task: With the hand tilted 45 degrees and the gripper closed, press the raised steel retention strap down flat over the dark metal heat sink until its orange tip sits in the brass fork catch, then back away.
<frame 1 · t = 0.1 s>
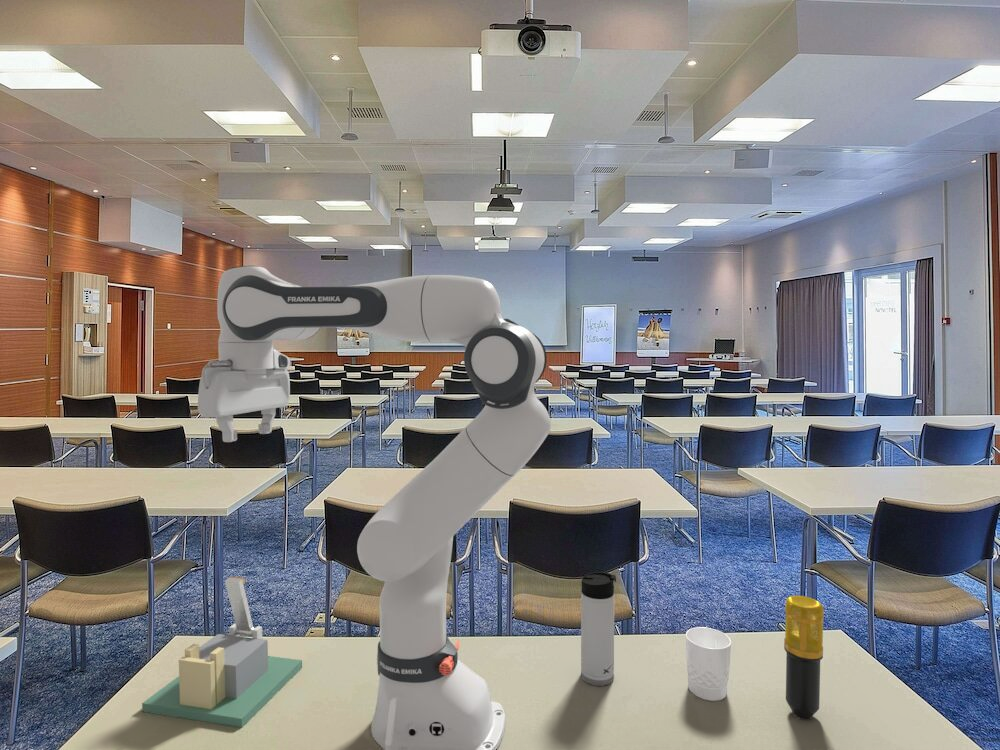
hand: (248, 437, 98), 48 cm above the table, tool pointing down, fingers open, 8 cm apart
travel mug: (598, 677, 107), on the table
retention strap: (240, 607, 107), point 14 cm above the table, hinge at 75.0°
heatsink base: (227, 688, 104), on the table
white cup: (707, 691, 103), on the table
microphone: (820, 713, 96), on the table
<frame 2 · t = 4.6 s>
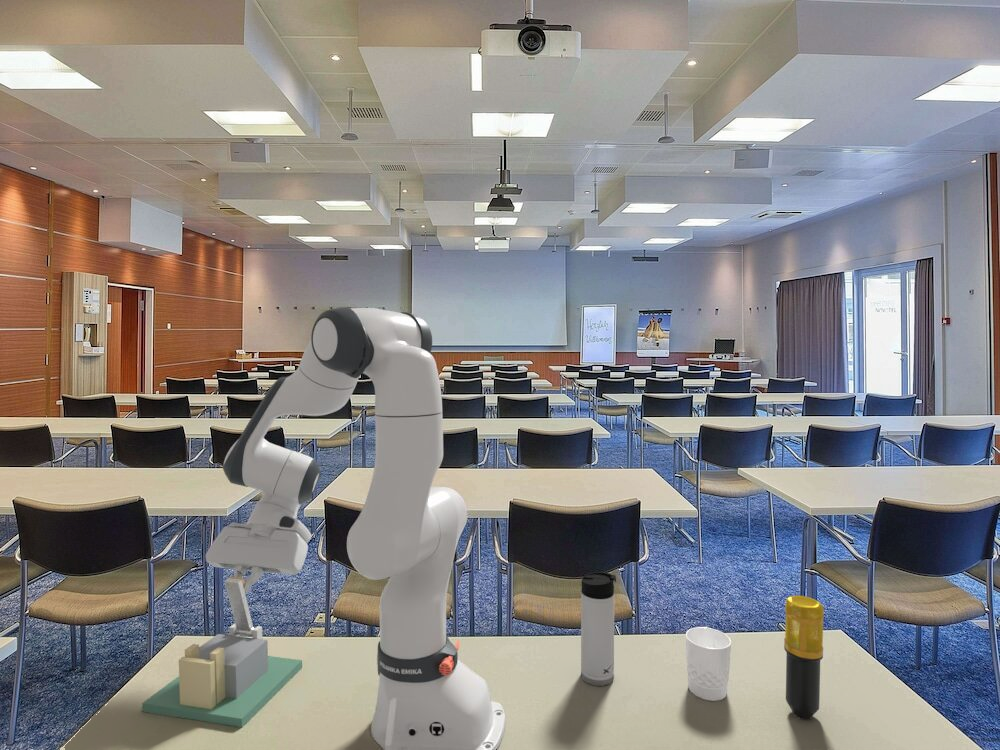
hand: (239, 591, 107), 17 cm above the table, tool tilted 45°, fingers closed, pressing on retention strap
retention strap: (240, 607, 107), point 14 cm above the table, hinge at 74.2°, touching gripper
everything else where it was.
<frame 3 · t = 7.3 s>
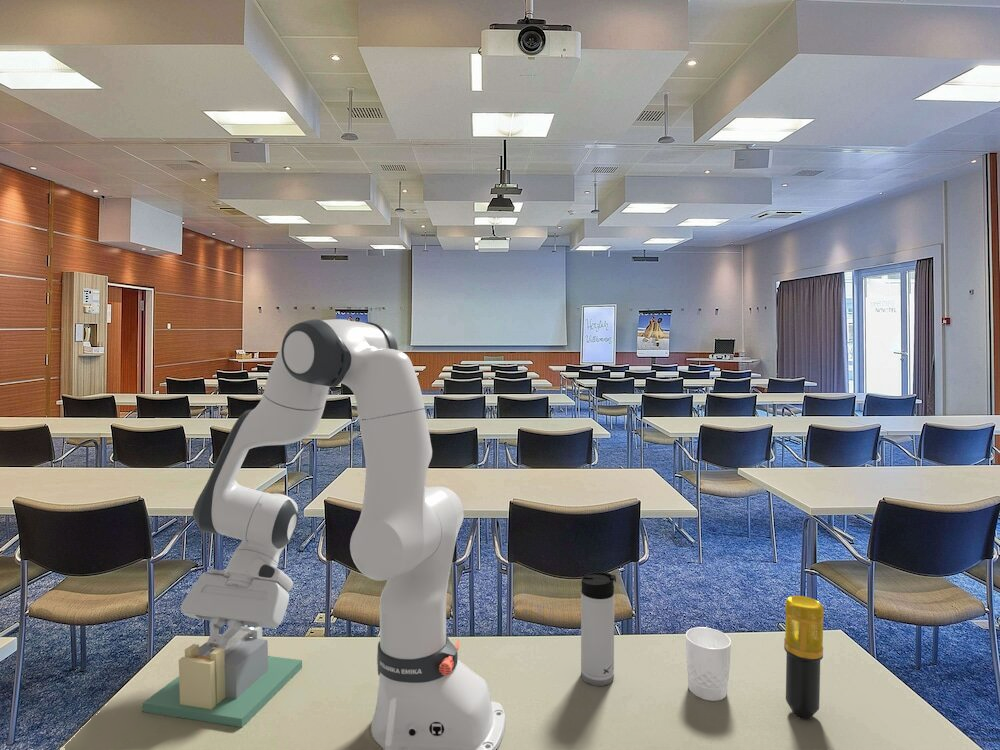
hand: (215, 646, 101), 9 cm above the table, tool tilted 45°, fingers closed, pressing on retention strap
retention strap: (225, 645, 104), point 8 cm above the table, hinge at -0.6°, touching gripper, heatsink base
everything else where it was.
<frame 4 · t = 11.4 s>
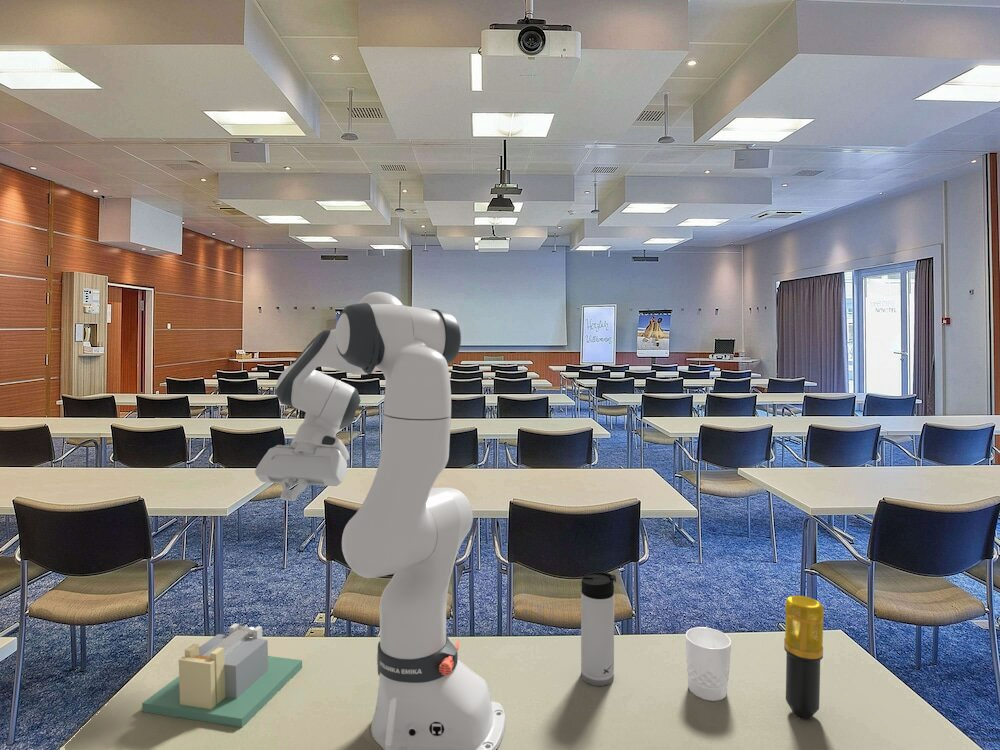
hand: (287, 499, 119), 31 cm above the table, tool tilted 45°, fingers closed
retention strap: (225, 645, 104), point 8 cm above the table, hinge at -0.6°, touching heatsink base
everything else where it was.
at the end: retention strap at -1° (first picture: +75°); the gripper is holding nothing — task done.
